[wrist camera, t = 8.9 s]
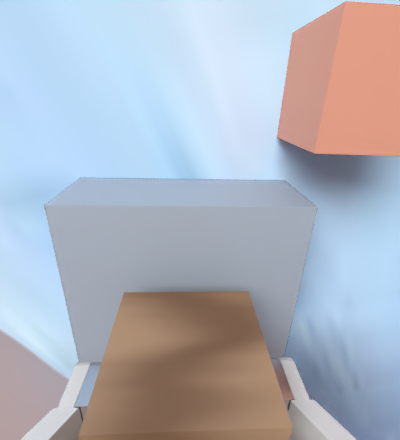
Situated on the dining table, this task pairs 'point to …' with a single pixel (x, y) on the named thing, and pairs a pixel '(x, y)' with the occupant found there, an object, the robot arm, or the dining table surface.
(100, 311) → the plinth
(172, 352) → the walnut cube
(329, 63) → the terracotta cube
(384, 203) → the dining table surface
